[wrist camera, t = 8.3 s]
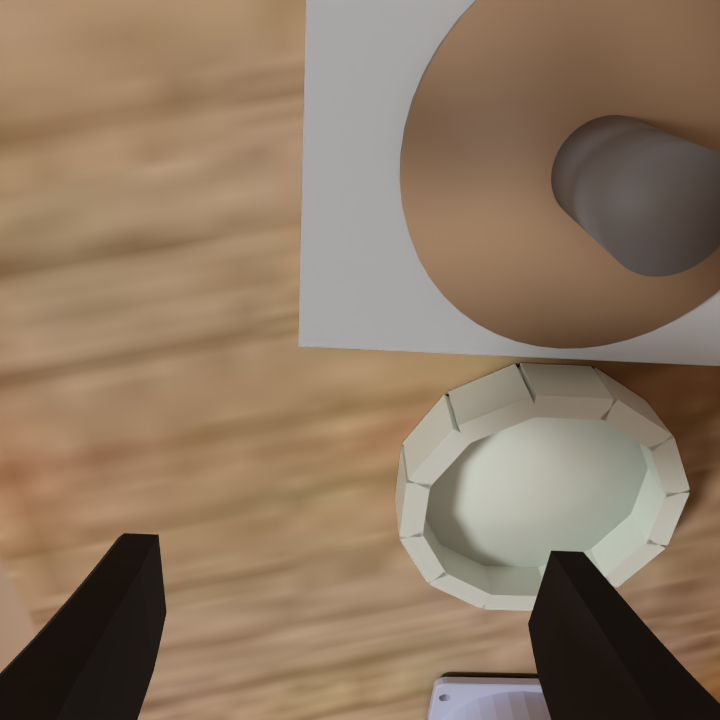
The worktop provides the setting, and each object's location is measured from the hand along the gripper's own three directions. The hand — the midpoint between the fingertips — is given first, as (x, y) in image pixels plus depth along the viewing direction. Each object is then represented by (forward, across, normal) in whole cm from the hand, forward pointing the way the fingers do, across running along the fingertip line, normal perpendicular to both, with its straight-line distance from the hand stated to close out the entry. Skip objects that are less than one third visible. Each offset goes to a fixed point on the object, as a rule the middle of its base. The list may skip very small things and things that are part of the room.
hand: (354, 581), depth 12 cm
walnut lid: (+9, -6, -6) cm, 13 cm away
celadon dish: (+10, -7, +5) cm, 13 cm away
